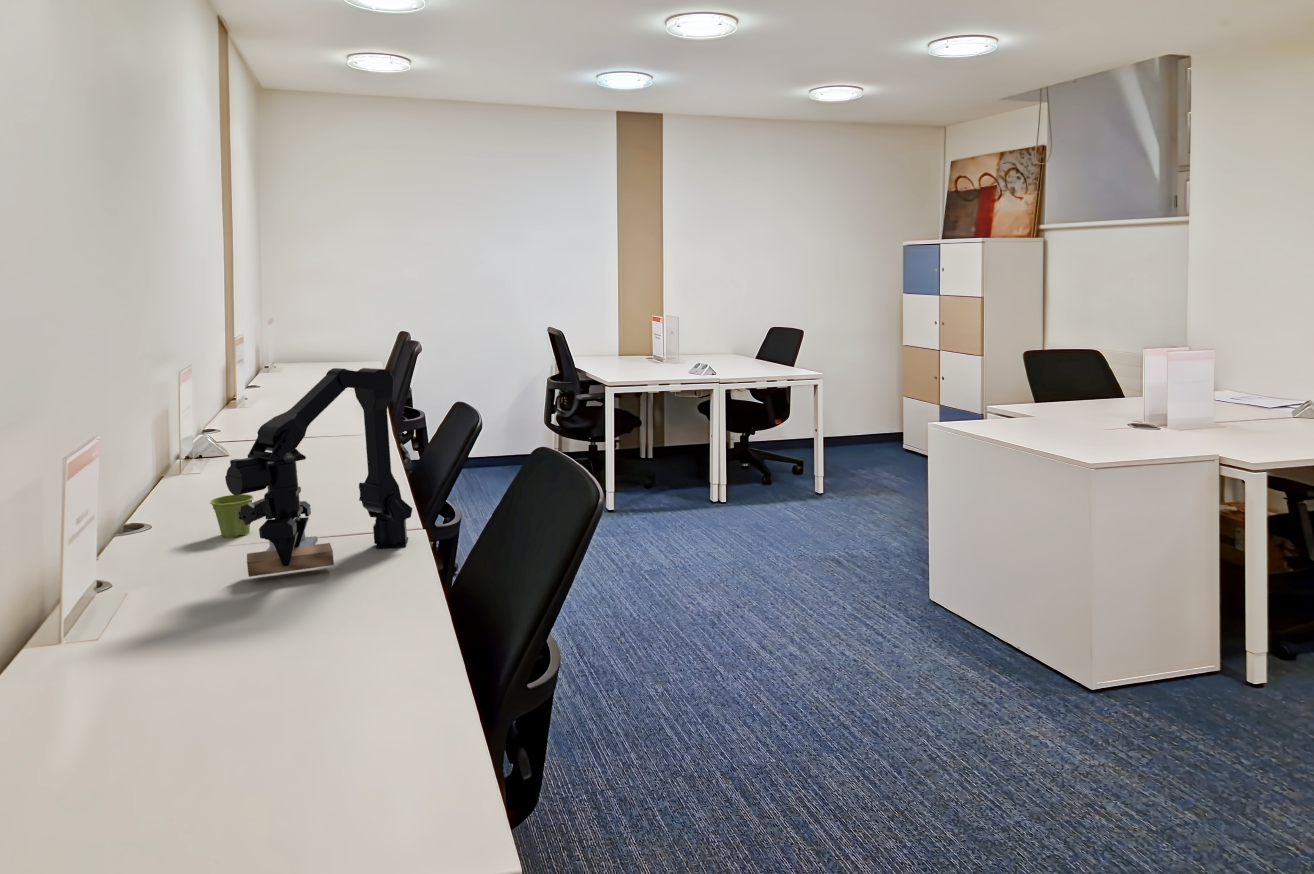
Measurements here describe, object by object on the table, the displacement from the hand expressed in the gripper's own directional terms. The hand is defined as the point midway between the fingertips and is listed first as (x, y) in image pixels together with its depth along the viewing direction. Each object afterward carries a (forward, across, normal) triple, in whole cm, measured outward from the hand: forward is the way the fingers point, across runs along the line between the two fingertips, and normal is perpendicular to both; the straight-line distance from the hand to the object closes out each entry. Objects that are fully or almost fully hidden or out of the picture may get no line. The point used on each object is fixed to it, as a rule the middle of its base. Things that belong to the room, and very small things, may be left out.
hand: (290, 560), depth 192 cm
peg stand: (+3, -17, -4) cm, 18 cm away
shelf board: (+1, 0, 0) cm, 1 cm away
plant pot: (+3, -36, -20) cm, 41 cm away
